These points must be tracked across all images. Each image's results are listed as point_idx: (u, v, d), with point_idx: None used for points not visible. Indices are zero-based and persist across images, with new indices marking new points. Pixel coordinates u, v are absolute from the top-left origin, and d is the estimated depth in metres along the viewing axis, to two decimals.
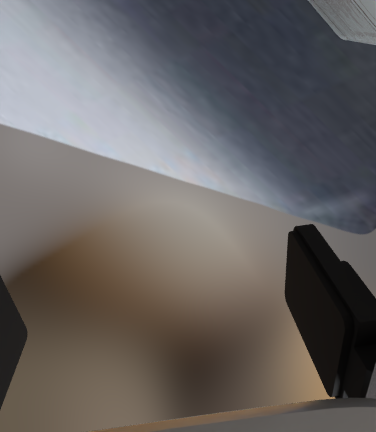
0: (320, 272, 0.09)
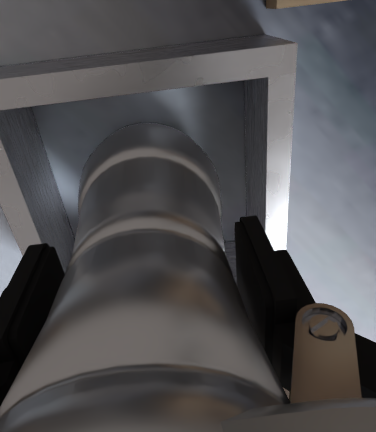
0: (253, 258, 0.10)
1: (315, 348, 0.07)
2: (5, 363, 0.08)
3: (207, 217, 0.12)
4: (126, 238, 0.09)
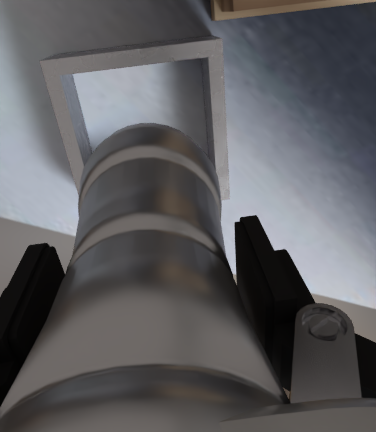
0: (253, 258, 0.10)
1: (315, 348, 0.07)
2: (5, 363, 0.08)
3: (207, 217, 0.12)
4: (126, 238, 0.09)
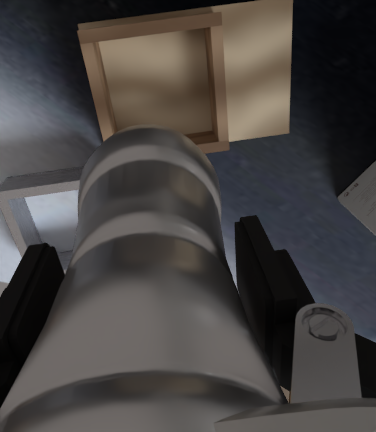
0: (253, 258, 0.10)
1: (315, 348, 0.07)
2: (5, 363, 0.08)
3: (207, 219, 0.12)
4: (125, 240, 0.09)
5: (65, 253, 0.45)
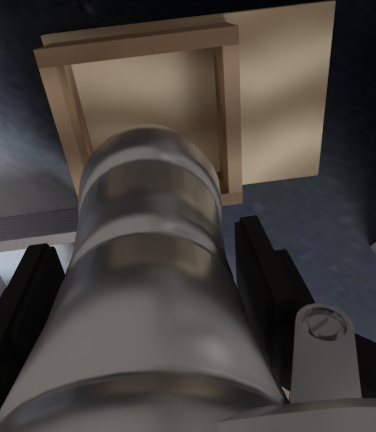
0: (253, 258, 0.10)
1: (315, 348, 0.07)
2: (5, 363, 0.08)
3: (207, 219, 0.11)
4: (126, 240, 0.09)
5: None
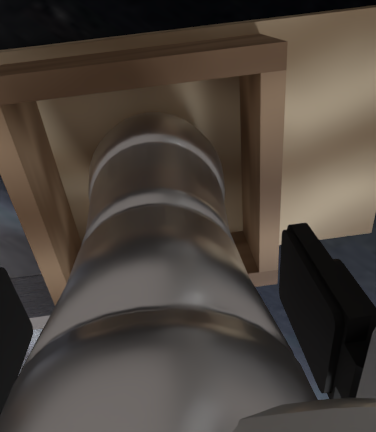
0: (312, 270, 0.09)
1: None
2: None
3: (212, 196, 0.12)
4: (138, 211, 0.10)
5: None
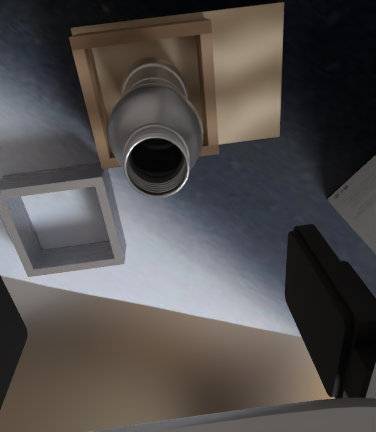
0: (320, 272, 0.09)
1: None
2: None
3: (177, 85, 0.29)
4: (147, 80, 0.26)
5: (60, 249, 0.46)
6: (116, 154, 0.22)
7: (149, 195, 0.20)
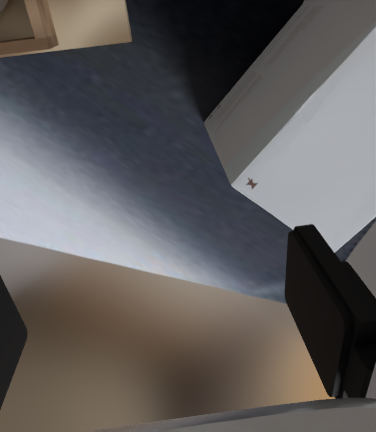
0: (320, 272, 0.09)
1: None
2: None
3: None
4: None
5: None
6: None
7: None
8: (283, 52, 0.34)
